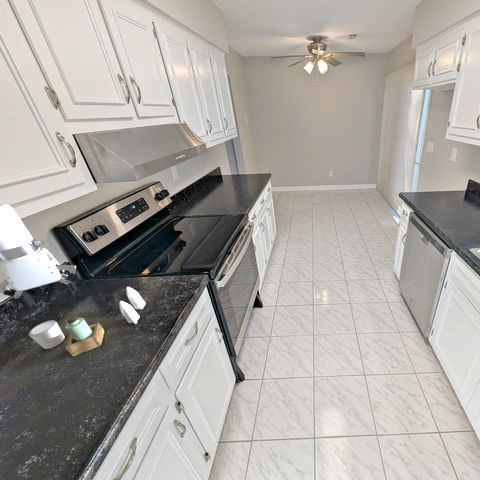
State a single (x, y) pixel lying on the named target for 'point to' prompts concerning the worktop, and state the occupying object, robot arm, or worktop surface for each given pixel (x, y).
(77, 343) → the box
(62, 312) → the worktop surface
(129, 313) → the shaker set
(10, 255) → the robot arm
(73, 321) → the bottle
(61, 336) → the white cup
